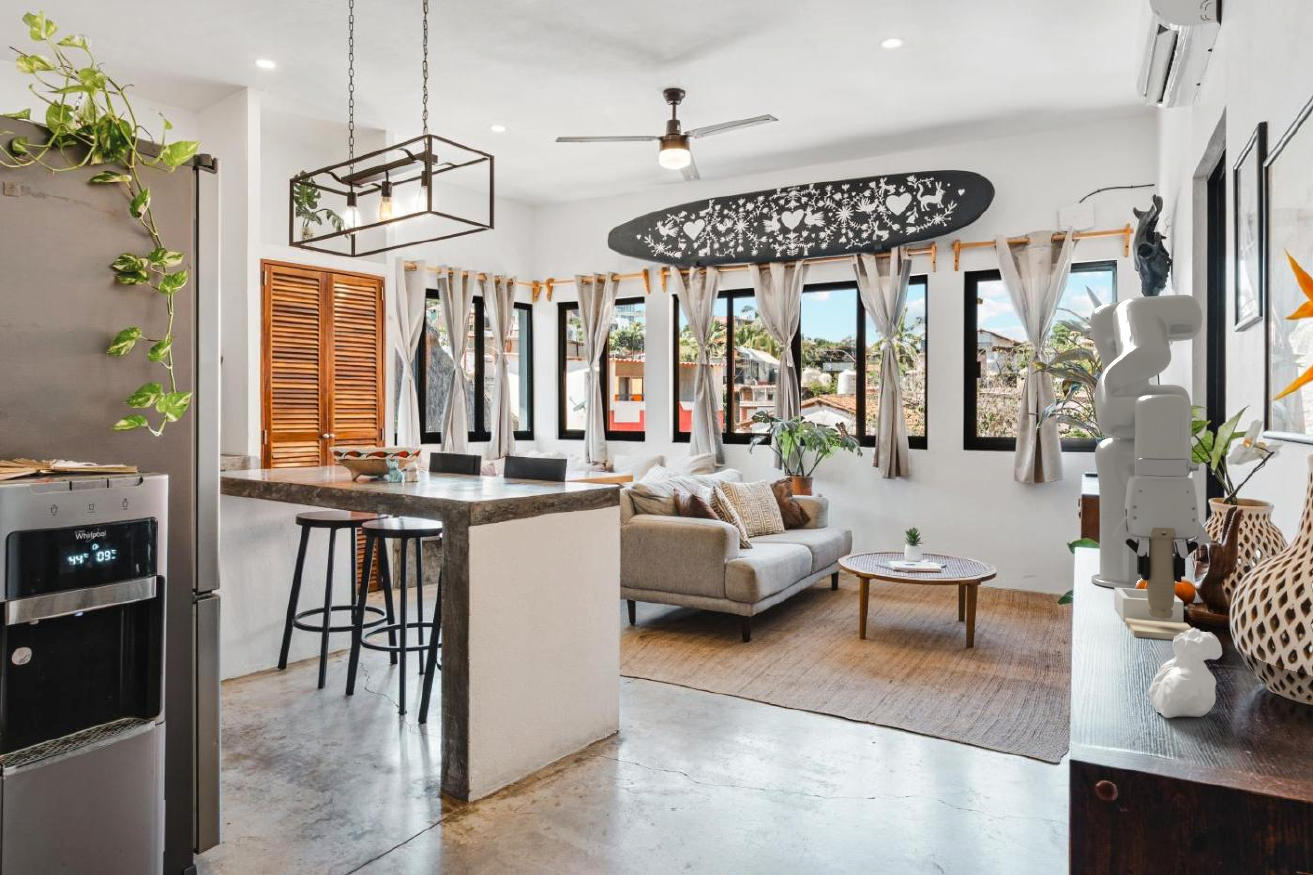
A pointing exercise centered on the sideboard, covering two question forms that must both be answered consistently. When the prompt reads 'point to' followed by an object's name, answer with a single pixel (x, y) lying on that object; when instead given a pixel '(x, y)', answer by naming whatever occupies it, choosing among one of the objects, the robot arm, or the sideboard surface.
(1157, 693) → the white tied sack
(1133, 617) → the white open box
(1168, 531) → the handle
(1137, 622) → the oak board
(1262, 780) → the sideboard surface
